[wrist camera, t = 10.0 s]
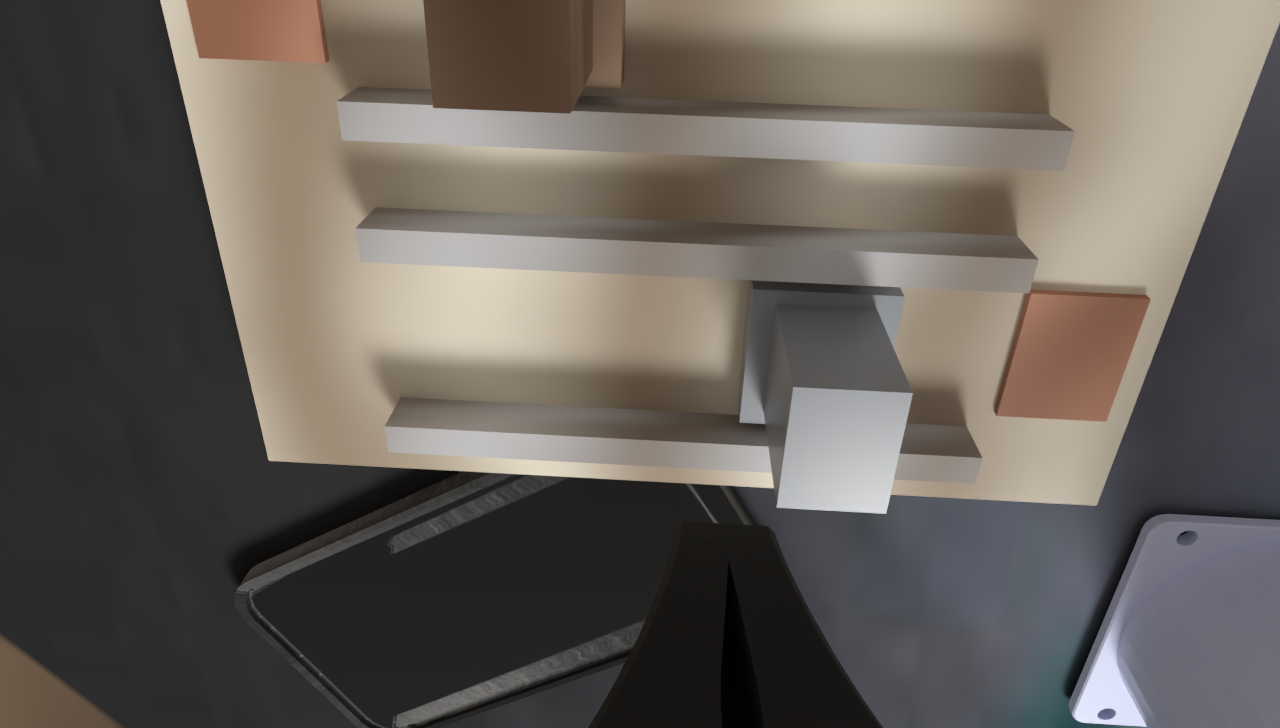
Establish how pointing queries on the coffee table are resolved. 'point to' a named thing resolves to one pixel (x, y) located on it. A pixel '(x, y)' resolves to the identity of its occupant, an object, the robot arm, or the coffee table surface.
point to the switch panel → (714, 226)
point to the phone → (474, 591)
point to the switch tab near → (522, 52)
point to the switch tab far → (826, 391)
